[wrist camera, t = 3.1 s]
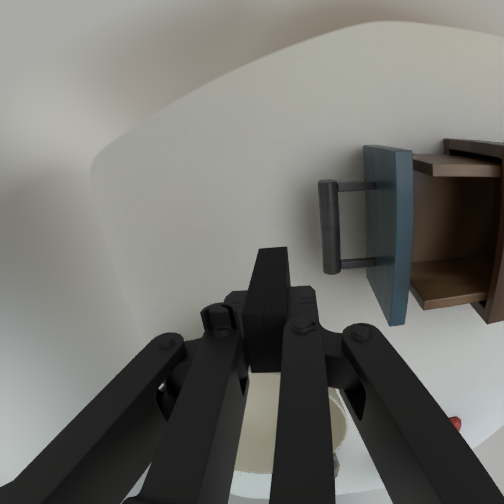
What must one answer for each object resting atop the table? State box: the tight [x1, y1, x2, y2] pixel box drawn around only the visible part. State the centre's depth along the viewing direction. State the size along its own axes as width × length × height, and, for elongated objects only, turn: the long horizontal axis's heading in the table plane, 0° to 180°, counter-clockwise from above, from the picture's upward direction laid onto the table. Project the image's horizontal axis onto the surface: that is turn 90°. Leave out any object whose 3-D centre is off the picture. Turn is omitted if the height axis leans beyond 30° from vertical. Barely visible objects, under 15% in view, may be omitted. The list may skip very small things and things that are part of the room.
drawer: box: [318, 145, 502, 326], centre depth 20 cm, size 18×12×8 cm, turn 97°
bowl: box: [234, 365, 348, 474], centre depth 28 cm, size 16×16×10 cm
